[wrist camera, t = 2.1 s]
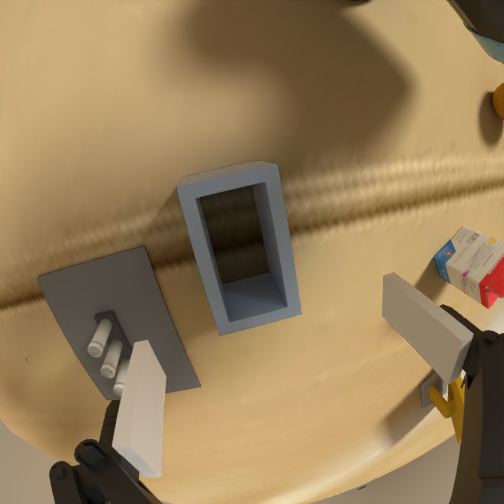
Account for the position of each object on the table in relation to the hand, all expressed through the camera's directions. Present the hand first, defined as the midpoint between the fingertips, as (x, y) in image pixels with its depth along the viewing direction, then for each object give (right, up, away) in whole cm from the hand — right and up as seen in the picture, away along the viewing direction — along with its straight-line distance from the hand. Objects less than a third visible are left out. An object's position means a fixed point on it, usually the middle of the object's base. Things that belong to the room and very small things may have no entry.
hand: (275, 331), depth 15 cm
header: (-18, -7, +19) cm, 27 cm away
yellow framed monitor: (+41, -27, +37) cm, 61 cm away
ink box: (+31, +4, +24) cm, 39 cm away
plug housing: (-3, +6, +17) cm, 18 cm away
